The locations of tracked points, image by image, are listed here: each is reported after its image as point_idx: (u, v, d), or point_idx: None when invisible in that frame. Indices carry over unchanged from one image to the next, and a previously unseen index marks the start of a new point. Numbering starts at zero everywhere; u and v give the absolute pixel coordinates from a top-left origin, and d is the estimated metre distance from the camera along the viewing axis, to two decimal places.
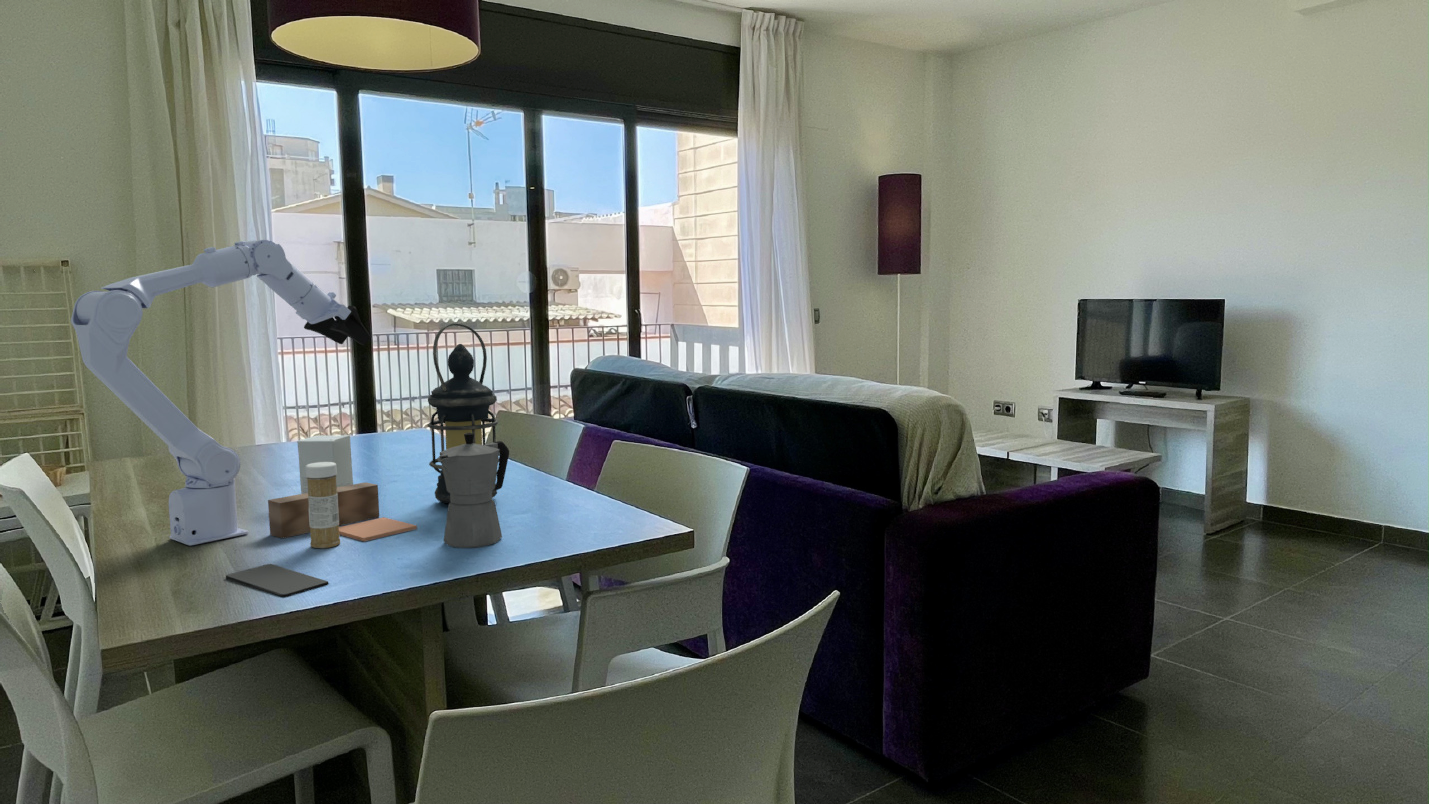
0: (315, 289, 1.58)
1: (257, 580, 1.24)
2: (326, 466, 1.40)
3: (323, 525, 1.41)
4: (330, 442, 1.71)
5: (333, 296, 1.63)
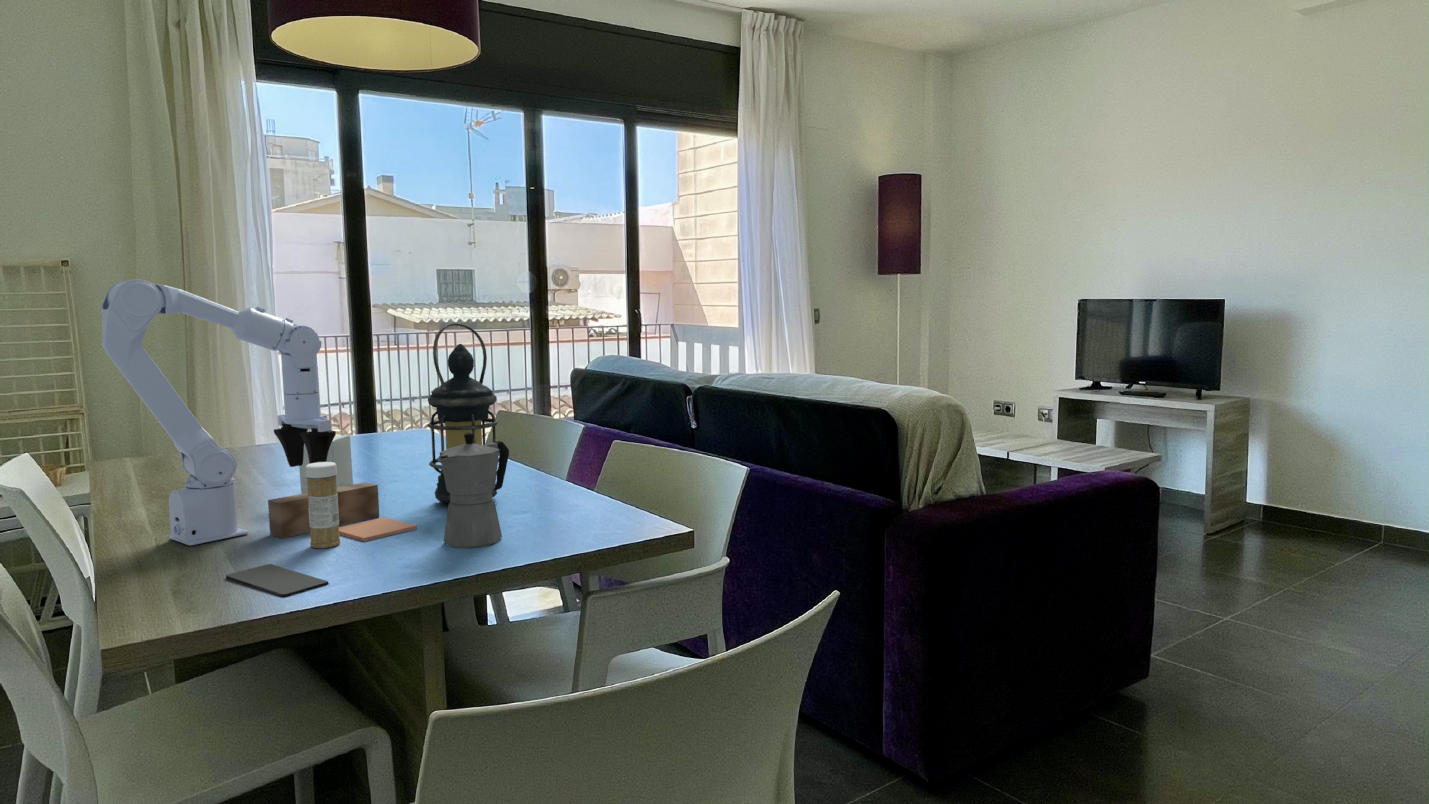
0: (316, 397, 1.57)
1: (257, 580, 1.24)
2: (326, 466, 1.40)
3: (323, 525, 1.41)
4: None
5: (323, 417, 1.60)
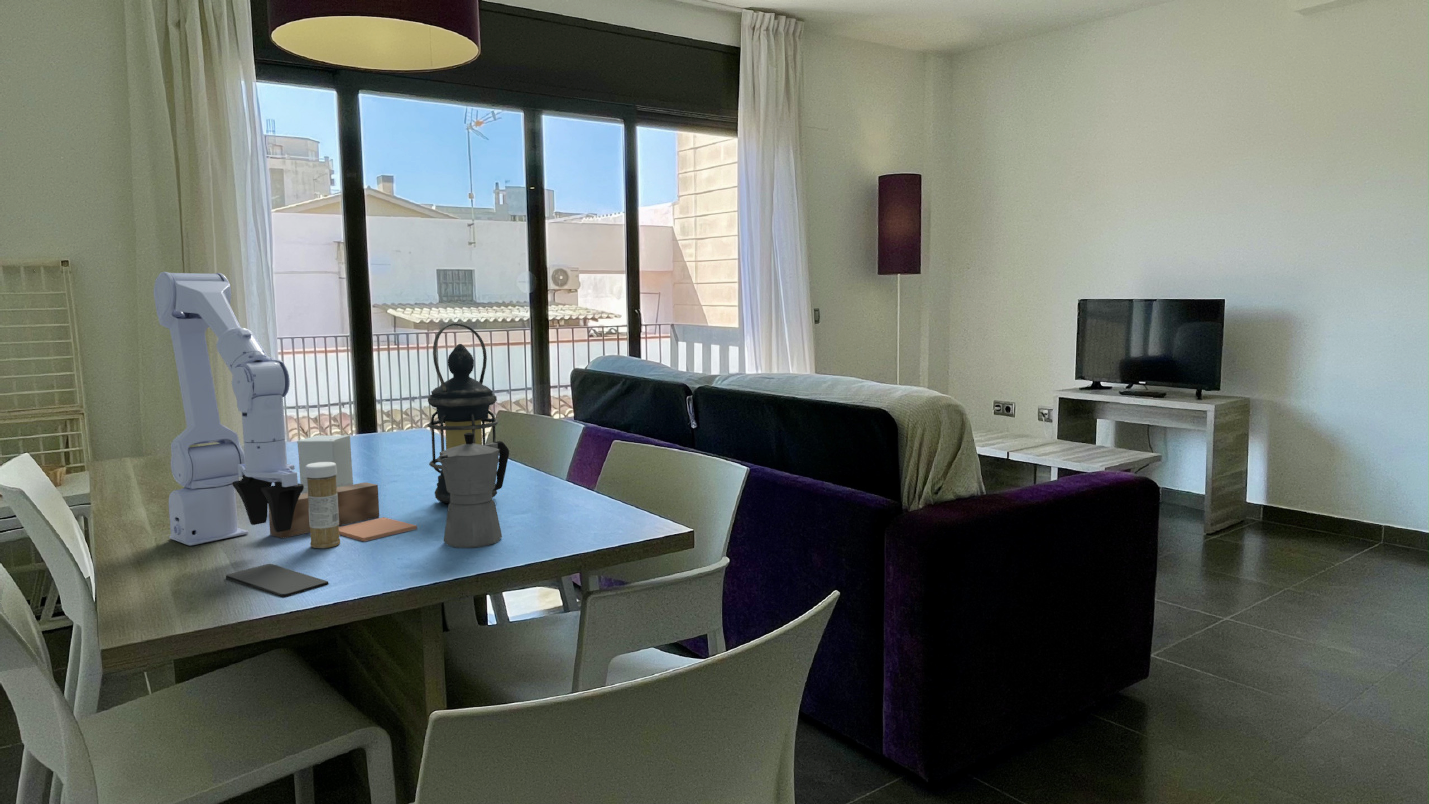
0: (282, 445, 1.35)
1: (257, 580, 1.24)
2: (326, 466, 1.40)
3: (323, 525, 1.41)
4: (330, 442, 1.71)
5: (290, 467, 1.38)
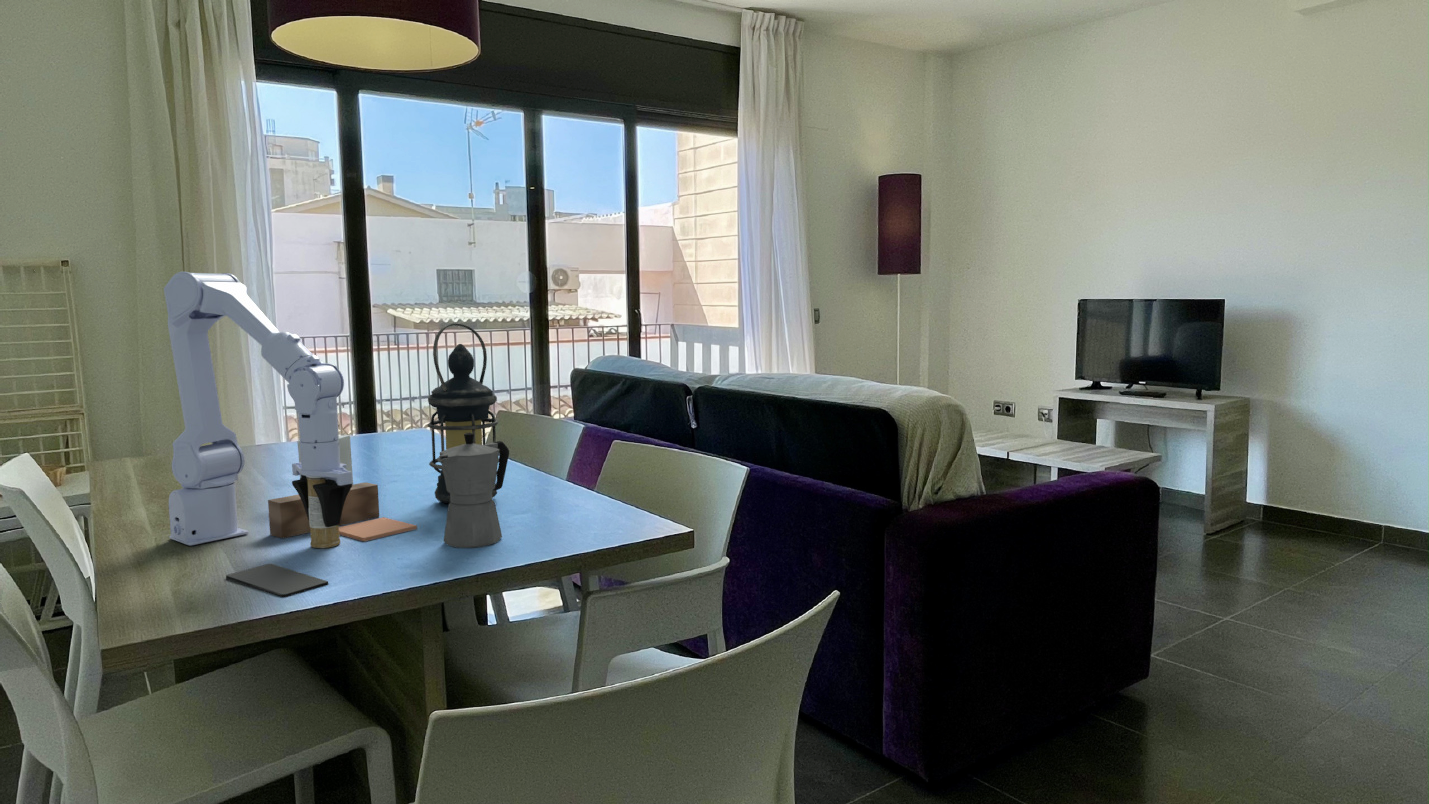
0: (336, 445, 1.41)
1: (257, 580, 1.24)
2: None
3: (323, 525, 1.41)
4: None
5: (343, 467, 1.44)
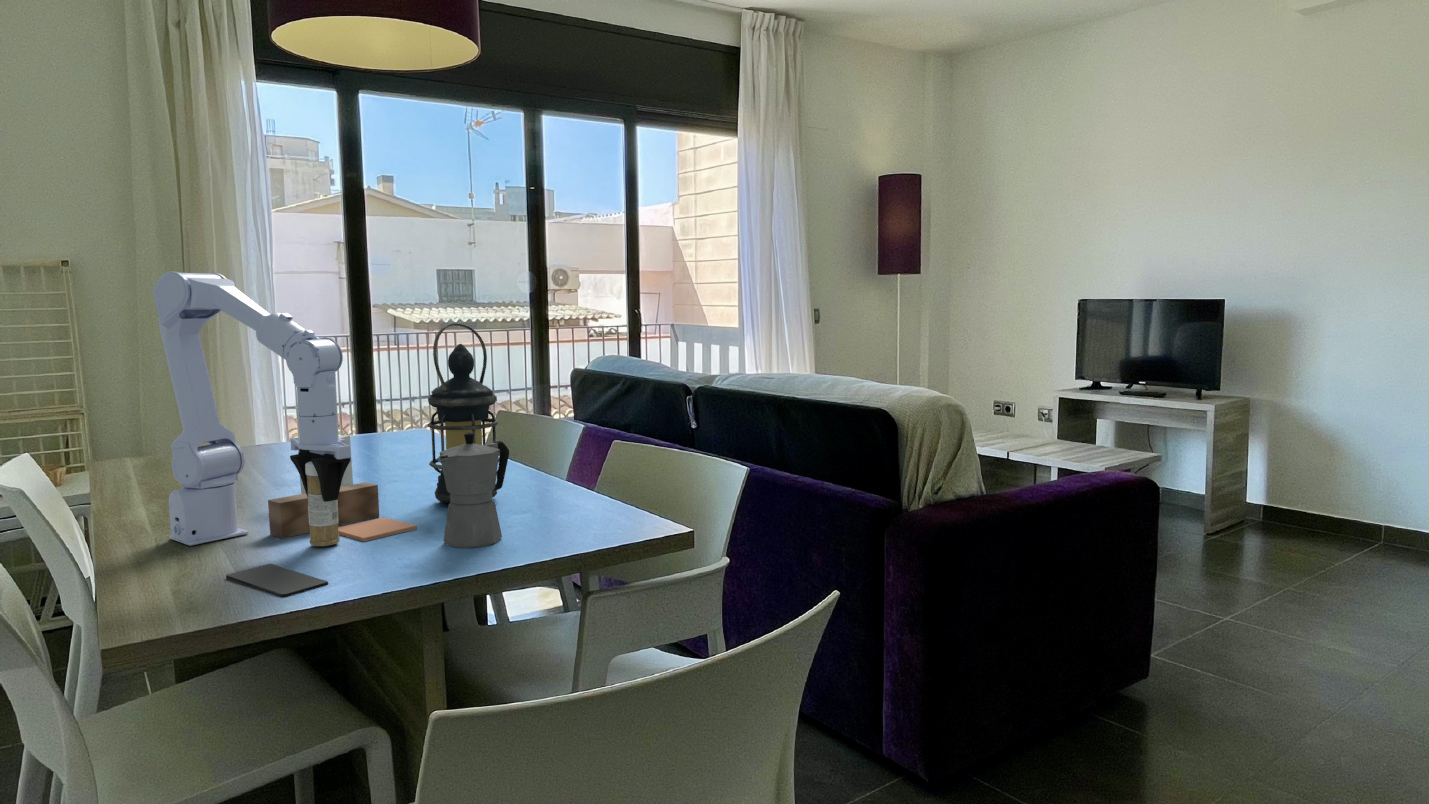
0: (334, 419, 1.41)
1: (257, 580, 1.24)
2: None
3: (323, 523, 1.41)
4: None
5: (342, 441, 1.43)
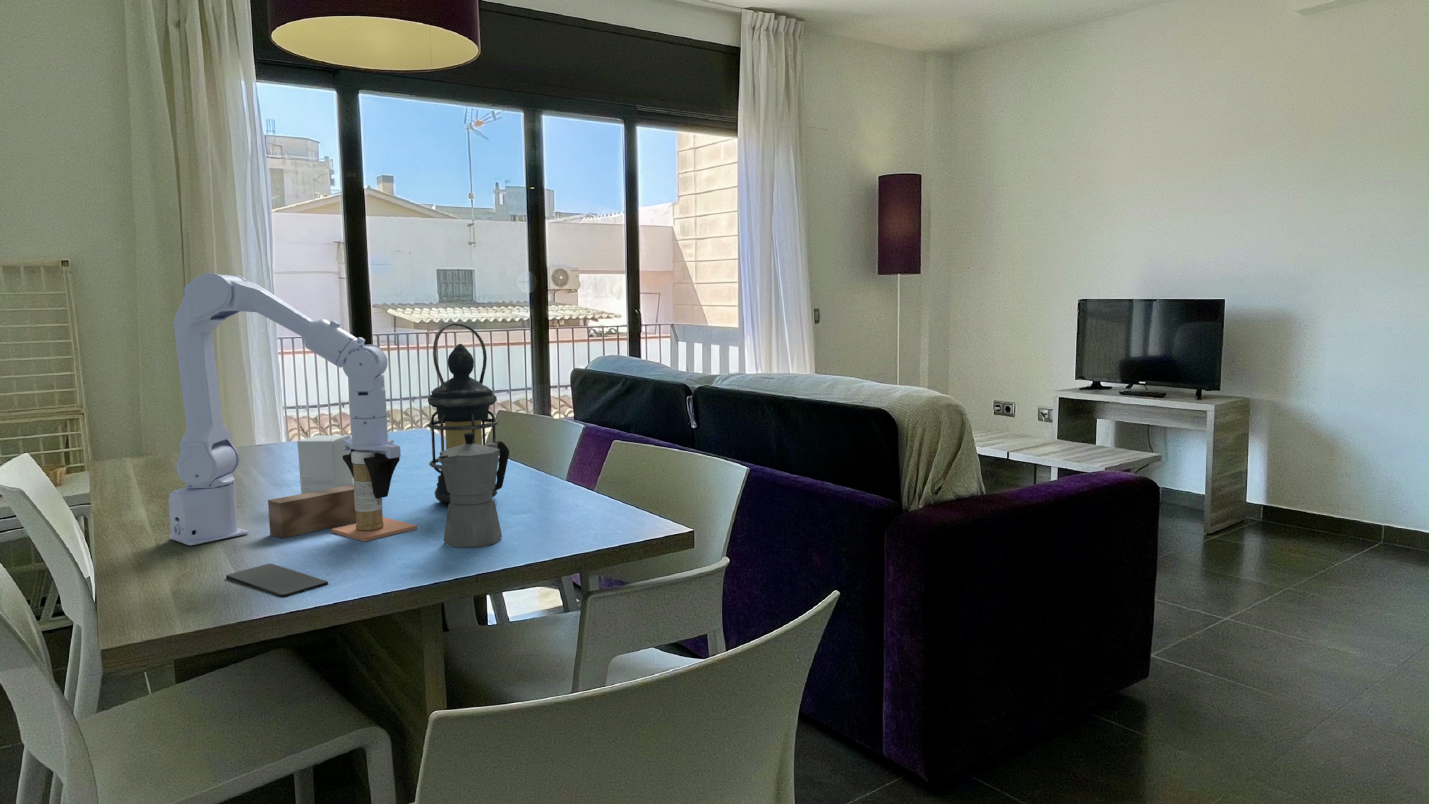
0: (384, 421, 1.50)
1: (257, 580, 1.24)
2: (371, 453, 1.49)
3: (369, 509, 1.49)
4: (330, 442, 1.71)
5: (390, 442, 1.53)
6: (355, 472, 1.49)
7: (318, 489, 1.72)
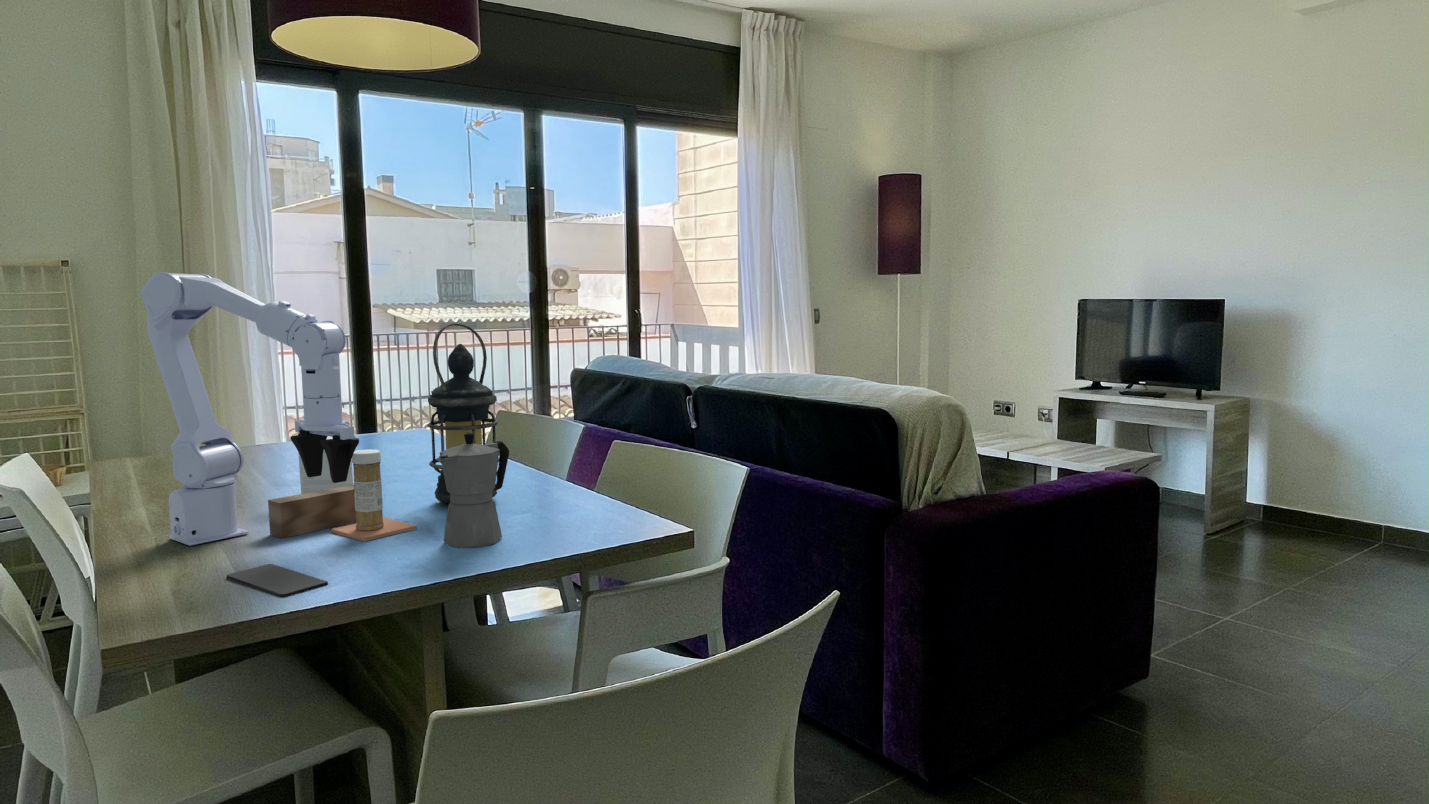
0: (338, 401, 1.43)
1: (257, 580, 1.24)
2: (372, 453, 1.49)
3: (369, 509, 1.49)
4: None
5: (345, 423, 1.46)
6: (355, 472, 1.49)
7: (318, 489, 1.72)
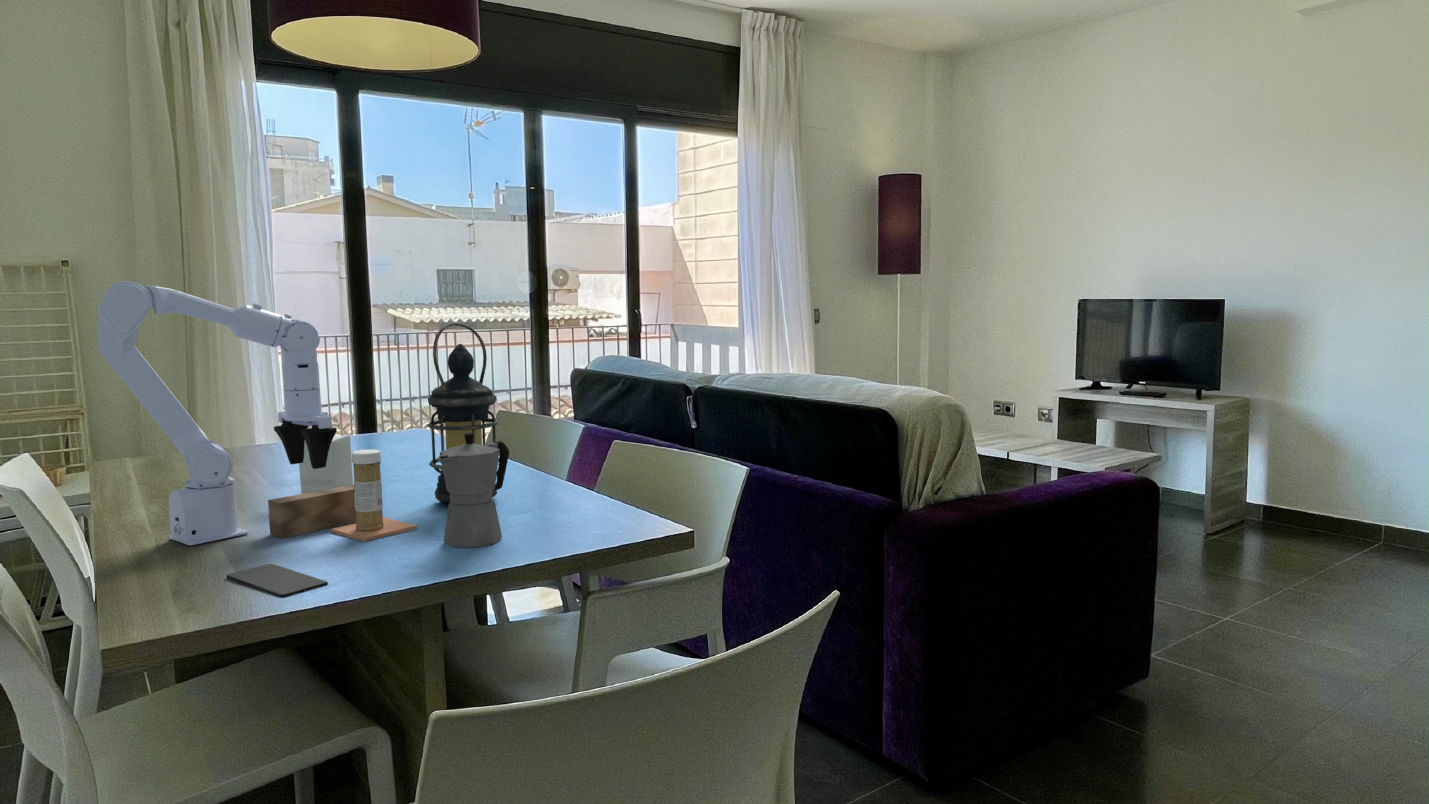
0: (317, 393, 1.55)
1: (257, 580, 1.24)
2: (372, 453, 1.49)
3: (369, 509, 1.49)
4: None
5: (324, 414, 1.58)
6: (355, 472, 1.49)
7: (318, 489, 1.72)
